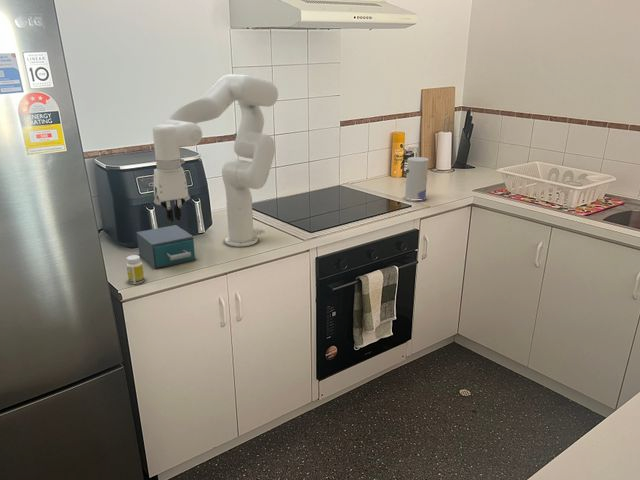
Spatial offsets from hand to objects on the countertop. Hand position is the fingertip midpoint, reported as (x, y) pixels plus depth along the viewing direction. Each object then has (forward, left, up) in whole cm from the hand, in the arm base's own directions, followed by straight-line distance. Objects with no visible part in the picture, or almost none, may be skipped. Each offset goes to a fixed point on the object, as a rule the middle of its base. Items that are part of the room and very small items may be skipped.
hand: (174, 219), depth 183 cm
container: (-130, -18, -17) cm, 132 cm away
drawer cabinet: (0, -11, -17) cm, 20 cm away
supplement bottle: (+16, +4, -17) cm, 24 cm away
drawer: (0, -7, -16) cm, 18 cm away
